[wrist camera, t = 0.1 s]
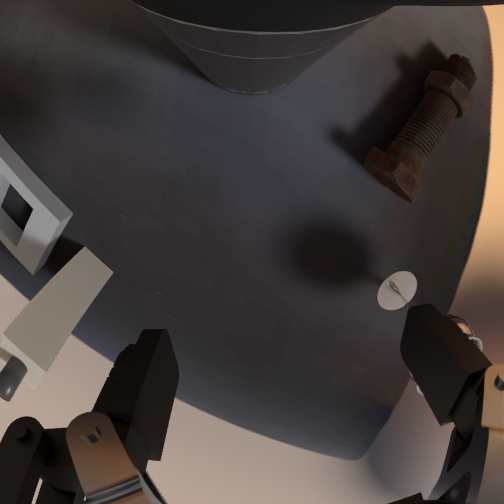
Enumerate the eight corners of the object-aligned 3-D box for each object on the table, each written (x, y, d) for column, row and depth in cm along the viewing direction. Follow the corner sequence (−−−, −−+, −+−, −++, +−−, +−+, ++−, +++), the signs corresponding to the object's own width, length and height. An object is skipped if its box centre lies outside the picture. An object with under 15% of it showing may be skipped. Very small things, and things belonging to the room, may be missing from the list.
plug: (69, 270, 27) (-22, 382, 12) (84, 246, 26) (-20, 362, 11) (96, 294, 29) (19, 418, 13) (113, 272, 27) (28, 404, 12)
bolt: (447, 73, 21) (375, 180, 26) (432, 38, 18) (350, 153, 22) (494, 93, 17) (421, 213, 22) (486, 54, 14) (404, 187, 18)
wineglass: (365, 320, 31) (406, 404, 20) (373, 266, 28) (430, 347, 17) (417, 311, 30) (465, 384, 20) (428, 260, 28) (493, 327, 17)
